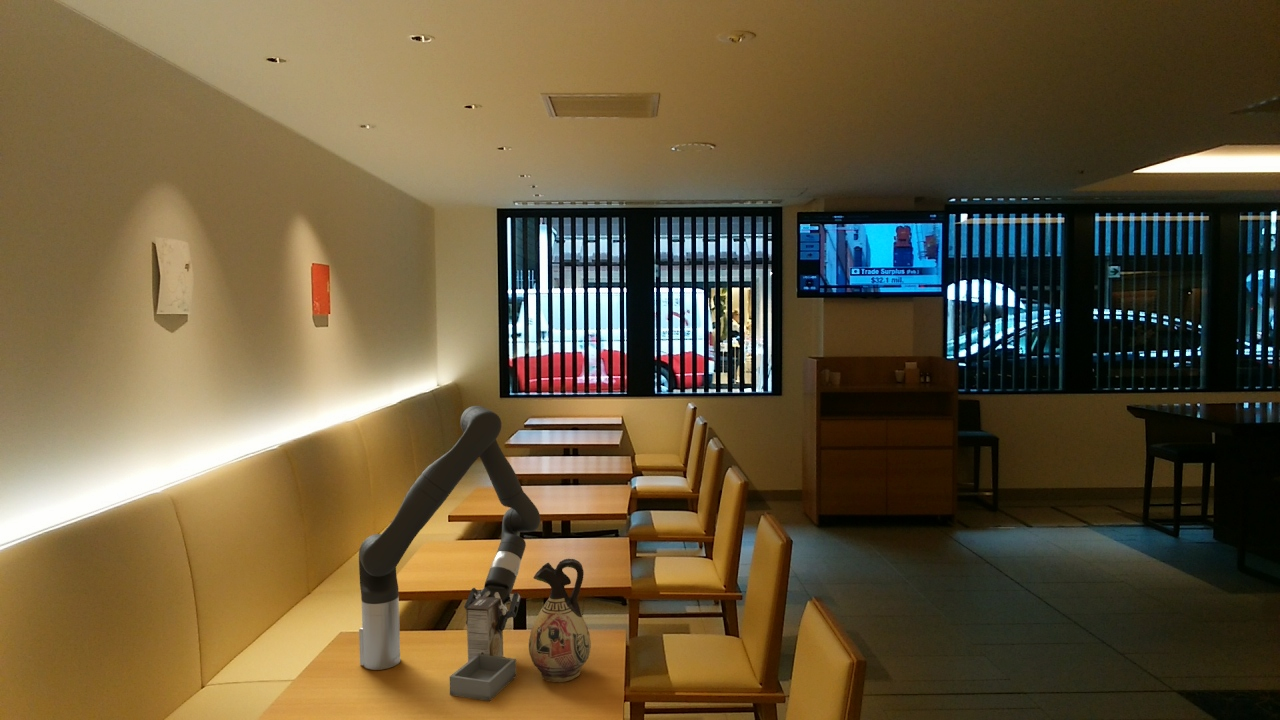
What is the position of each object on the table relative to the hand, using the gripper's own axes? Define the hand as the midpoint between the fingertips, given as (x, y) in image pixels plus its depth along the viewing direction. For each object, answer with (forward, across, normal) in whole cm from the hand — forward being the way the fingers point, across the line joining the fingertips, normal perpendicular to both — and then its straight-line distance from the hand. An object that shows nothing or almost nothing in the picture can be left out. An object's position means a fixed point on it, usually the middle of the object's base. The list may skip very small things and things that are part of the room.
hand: (483, 629), depth 211 cm
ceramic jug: (+7, +22, +6) cm, 24 cm away
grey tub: (+14, +6, -2) cm, 16 cm away
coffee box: (+6, 0, +7) cm, 9 cm away
